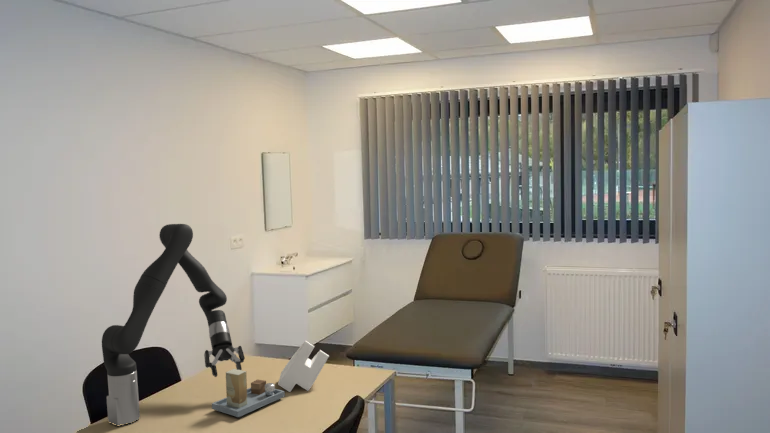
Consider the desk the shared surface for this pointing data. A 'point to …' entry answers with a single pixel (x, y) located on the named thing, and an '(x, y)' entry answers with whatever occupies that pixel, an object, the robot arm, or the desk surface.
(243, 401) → the skincare box
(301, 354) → the slotted wedge
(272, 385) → the chrome dome knob
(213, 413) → the desk surface
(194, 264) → the robot arm
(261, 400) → the blue-grey serving tray
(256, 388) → the walnut block
